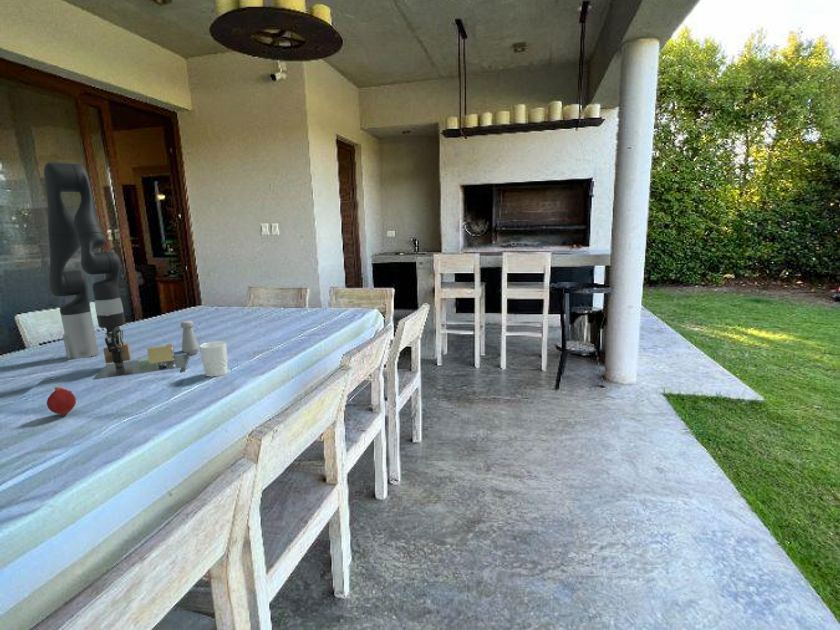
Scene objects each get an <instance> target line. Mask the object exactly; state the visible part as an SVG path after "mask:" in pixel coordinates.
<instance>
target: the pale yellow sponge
mask: <svg viewBox="0 0 840 630" xmlns="http://www.w3.org/2000/svg"><path fill="white" fill-rule="evenodd" d="M146 350H147V358H149V364H150V363H158V367H166V366H167V365H166V361H173V360H174V357H173V350H172V343H167V344H166V345H161V346H160V345H159V346H151V347H147V348H146Z"/></svg>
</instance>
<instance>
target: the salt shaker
mask: <svg viewBox="0 0 840 630" xmlns="http://www.w3.org/2000/svg"><path fill="white" fill-rule="evenodd" d="M193 327H194V322H193V321H192V320H183V321H181V323H180V328H182V330H183V331H182V340H181V351H182V352H183V353H186V354H190V355H191V356H195V355H197V354H198V352H199V350H200V345H199V343H198V340H197V337H196V334H195V332H194V329H193Z"/></svg>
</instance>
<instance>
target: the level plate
mask: <svg viewBox="0 0 840 630" xmlns="http://www.w3.org/2000/svg"><path fill="white" fill-rule="evenodd" d="M174 349H175V348H174V346H172V350H173V357H174V360H173V361H166V365H167V366H166V367H158V363H150V364H149V358H148V357H147V358H140V359H136V360H129V361H123V364H124V366H122V367H115V363H114V362H113V363H106V364H105V365H104V367H103V368H102V369H100V371H99V372H98V373H97V374H96V375H95V376H94V377H93V378H91V379H92V380H99V379H109V378H114V377H115V378H116V377H122V376H128V375H129V376H131V375H138V374H145V373H152V372H159V371H166V370H174V369H180V370H179V373H183V372H182V371H184V372H186V371H187V368H188V365H187V364H189V362H190V359H191V356H190V354H187V353H185V354H177V355H175V350H174ZM188 361H189V362H188ZM186 367H187V368H186ZM185 370H186V371H185Z"/></svg>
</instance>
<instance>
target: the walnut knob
mask: <svg viewBox="0 0 840 630" xmlns="http://www.w3.org/2000/svg"><path fill="white" fill-rule="evenodd" d="M123 344H124V345H123V346H119V347H120V355H121V360H122V361H121V363H115V367H122V366H124V364H123V362H127V361H132V355H131V351H130V345H129V343H123ZM113 348H115V347H113ZM102 351H103V354H104V359H105V360H104V361H105V364H112V363H114V362H113V357H112V353H111V352H109V350H108V347H107V346H106V347H104V348H103V350H102Z"/></svg>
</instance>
